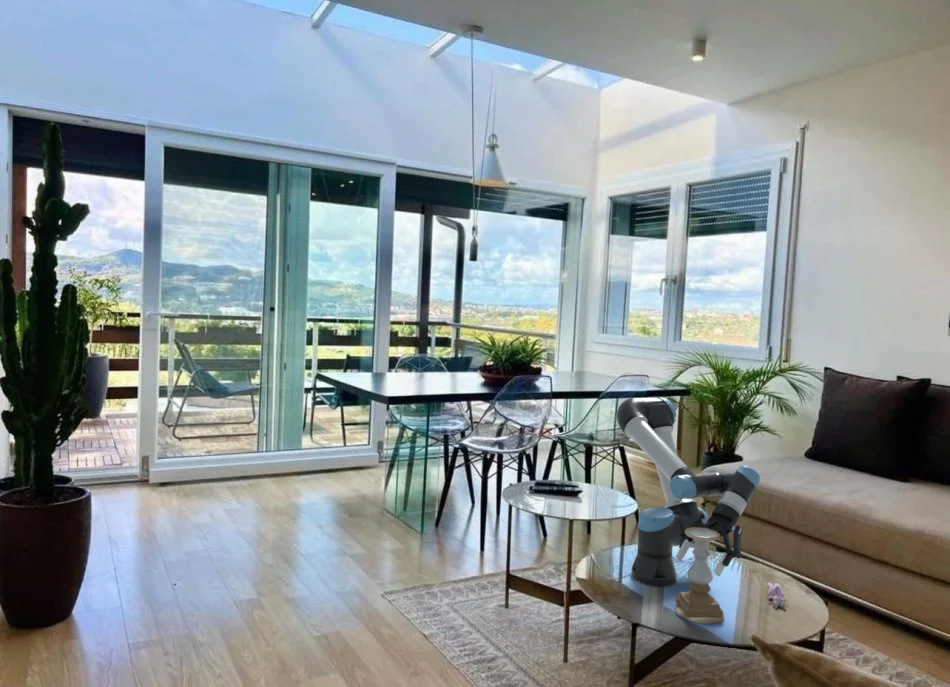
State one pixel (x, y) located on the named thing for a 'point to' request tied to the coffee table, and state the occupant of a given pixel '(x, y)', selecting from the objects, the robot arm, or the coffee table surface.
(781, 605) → the purple toy figure
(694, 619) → the hub disc
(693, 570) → the candle holder
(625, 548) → the coffee table surface
